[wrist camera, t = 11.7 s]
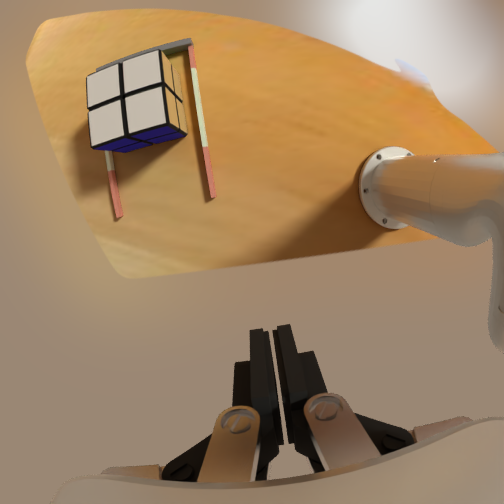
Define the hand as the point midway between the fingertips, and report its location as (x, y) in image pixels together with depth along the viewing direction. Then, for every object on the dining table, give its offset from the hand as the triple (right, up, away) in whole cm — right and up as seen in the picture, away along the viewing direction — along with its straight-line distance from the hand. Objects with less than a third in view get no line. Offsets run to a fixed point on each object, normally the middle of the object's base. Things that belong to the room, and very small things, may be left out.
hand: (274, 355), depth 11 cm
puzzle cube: (-15, +24, +23) cm, 37 cm away
